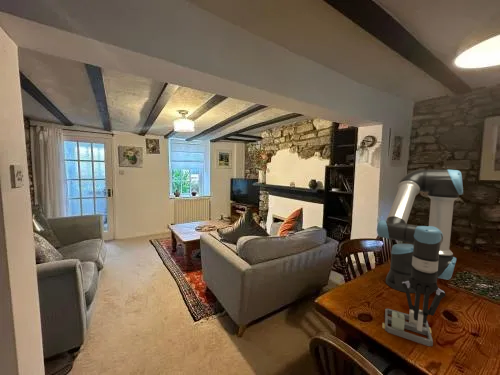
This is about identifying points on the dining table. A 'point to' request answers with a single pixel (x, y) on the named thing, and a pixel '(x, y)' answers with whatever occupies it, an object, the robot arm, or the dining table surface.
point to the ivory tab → (412, 317)
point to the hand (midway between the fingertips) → (419, 328)
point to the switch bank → (408, 326)
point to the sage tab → (398, 320)
